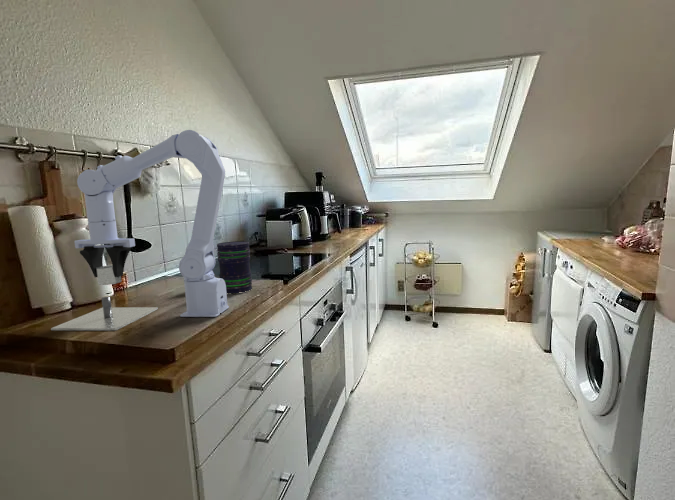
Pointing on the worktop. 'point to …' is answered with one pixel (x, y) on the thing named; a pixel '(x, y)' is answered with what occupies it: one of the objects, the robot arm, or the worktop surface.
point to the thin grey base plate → (106, 318)
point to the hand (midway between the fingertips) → (108, 276)
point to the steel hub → (106, 275)
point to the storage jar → (235, 266)
